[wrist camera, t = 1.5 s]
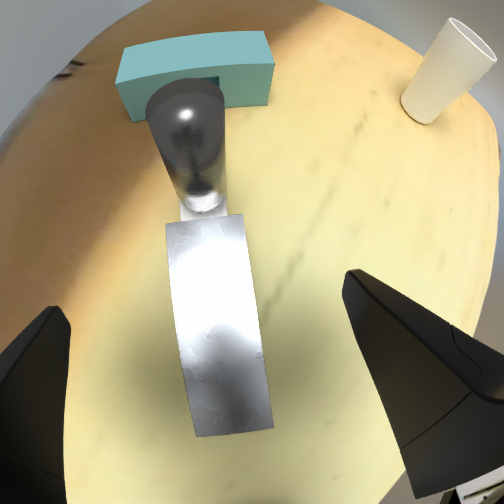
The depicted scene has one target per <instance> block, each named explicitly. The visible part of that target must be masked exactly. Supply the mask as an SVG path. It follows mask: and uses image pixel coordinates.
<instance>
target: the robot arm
mask: <svg viewBox="0 0 504 504" xmlns="http://www.w3.org/2000/svg"><path fill="white" fill-rule="evenodd" d="M342 298H343V301H344V304H345V307H346V310H347V313H348V316H349V319H350V323H351V326H352V329H353V332H354V335H355V338H356V341H357V343H358V346H359V348H360V350H361V353H362V355H363V357H364V360H365V362H366V364H367V367H368V369H369V371H370V374H371V376H372V379H373V381H374V384H375V386H376V388H377V391H378V393H379V396H380V398H381V401H382V404H383V406H384V409H385V411H386V414H387V417H388V419H389V422H390V425H391V427H392V430H393V433H394V436H395V438H396V441H397V444H398V447H399V449H400V453H401V456H402V459H403V462H404V465H405V468H406V471H407V474H408V477H409V480H410V484H411V487H412V490H413V493H414V496H415V499H419V498H422V497H426V496H429V495H432V494H436V493H439V492H442V491H445V490H448V489H449V490H448V491H446V492H445V493H444V495H443V497H442V499H441V502H440V504H504V355H502V354H501V353H499V352H497V351H495V350H494V349H492V348H490V347H488V346H486V345H485V344H483V343H481V342H479V341H478V340H476V339H474V338H472V337H471V336H469V335H468V334H466V333H464V332H463V331H461V330H460V329H458V328H456V327H455V326H453V325H450V323H449V322H447V321H445V320H444V319H442V318H441V317H439V316H437V315H436V314H434V313H433V312H431V311H429V310H428V309H426V308H425V307H423V306H421V305H420V304H418V303H416V302H415V301H413V300H412V299H410V298H408V297H407V296H405V295H403V294H402V293H400V292H398V291H397V290H395V289H393V288H392V287H390V286H388V285H387V284H385V283H383V282H381V281H380V280H378V279H376V278H375V277H373V276H371V275H370V274H368V273H366V272H364V271H363V270H361V269H354V270H349V271H347V272H346V274H345V279H344V284H343V288H342ZM70 337H71V326H70V323H69V321H68V319H67V318H66V316H65V315H64V313H63V311H62V310H61V308H60V307H59V306H48V307H47V308H46V309H45V310H43V311H42V312H41V313H40V314H39V315H38V316H37V317H36V318H35V319H34V320H33V321H32V322H31V323H30V324H29V325H28V326H27V327H26V328H25V329H24V330H23V331H22V332H21V333H20V334H19V335H18V336H17V337H16V338H15V339H14V340H13V341H12V342H11V343H10V344H9V345H8V347H7V348H6V349H5V350H4V351H3V352H2V353H1V354H0V504H67V499H66V490H65V480H64V458H63V433H64V410H65V397H66V387H67V378H68V367H69V350H70Z"/></svg>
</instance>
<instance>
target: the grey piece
mask: <svg viewBox="0 0 504 504" xmlns="http://www.w3.org/2000/svg"><path fill="white" fill-rule="evenodd" d="M145 116H146V119H147V122H148V124H149V127H150V129H151V132H152V134H153V137H154V140H155V142H156V145H157V147H158V149H159V152H160V154H161V157H162V159H163V162H164V164H165V167H166V169H167V171H168V174H169V176H170V179H171V181H172V183H173V186H174V188H175V190H176V193H177V195H178V197H179V200H180V215H181V221H189V220H196V219H204V218H212V217H220V216H228V211H227V203H226V169H225V101H224V95H223V93H222V91H221V89H220V88H219V87H218V86H217V85H215V84H214V83H212V82H210V81H208V80H204V79H200V78H184V79H179V80H175V81H172V82H170V83H168V84H166V85H164V86H162V87H161V88H159V89H158V90H157V91H156V92H154V94H153V95H152V96H151V97H150V99H149V100H148V102H147V105H146V108H145Z"/></svg>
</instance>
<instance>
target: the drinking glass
mask: <svg viewBox="0 0 504 504" xmlns="http://www.w3.org/2000/svg"><path fill="white" fill-rule="evenodd" d="M496 62H497V58H496V56H495V55H494V53H493V52H492V50H491V49H490V48H489V47H488V45H487V44H486V43H485V42H484V41H483V40H482V39H481V38H480V37H479V36H478V35H476V33H474V32H473V31H472V30H471V29H469V28H468V27H467V26H465V25H464V24H463V23H461V22H460V21H458V20H456V19H454V18H449V19H448V20H447V21H446V23H445V24H444V25H443V27H442V28H441V29H440V31H439V32H438V34H437V35H436V37H435V38H434V40H433V42H432V44H431V45H430V47H429V49H428V51H427V53H426V55H425V57H424V58H423V60H422V62H421V64H420V66H419V68H418V69H417V71H416V73H415V75H414V76H413V78H412V80H411V82H410V83H409V85H408V87H407V88H406V89H405V91H404V92H403V94H402V95H401V104H402V106H403V108H404V110H405V111H406V112H407V113H408V114H409V115H410V116H411V117H412V118H413V119H414V120H416V121H418V122H420V123H422V124H429V123H431V122H433V121H434V120H435V119H436V118H437V117H438V116H439V115H440V114H441V113H442V112H443V111H444V110H446V109H447V108H448V107H449V106H450V105H452V104H453V103H454V102H455V101H456V100H458V99H459V98H460V97H461V96H462V95H464V94H465V93H466V92H467V91H468V90H470V88H472V87H473V86H474V85H475V84H477V83H478V82H479V81H480V80H481V79H482V78H483V77H484V76H485V75H486V74H487V73H488V71H489V70H490V69H491V68H492V67H493V66H494V64H495V63H496Z"/></svg>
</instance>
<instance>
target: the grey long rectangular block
mask: <svg viewBox="0 0 504 504" xmlns="http://www.w3.org/2000/svg"><path fill="white" fill-rule="evenodd" d="M166 240H167V254H168V265H169V276H170V286H171V295H172V303H173V311H174V319H175V326H176V333H177V340H178V346H179V353H180V359H181V365H182V370H183V376H184V381H185V386H186V391H187V396H188V401H189V406H190V411H191V415H192V420H193V424H194V428H195V433H196V437H205V436H217V435H227V434H236V433H244V432H251V431H258V430H264V429H270V428H274V423H273V417H272V410H271V404H270V397H269V390H268V384H267V377H266V370H265V364H264V357H263V350H262V344H261V337H260V330H259V323H258V317H257V310H256V303H255V296H254V289H253V282H252V276H251V269H250V262H249V255H248V248H247V241H246V234H245V227H244V220H243V214H236V215H228V216H220V217H212V218H204V219H196V220H189V221H181V222H174V223H167V224H166Z"/></svg>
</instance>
